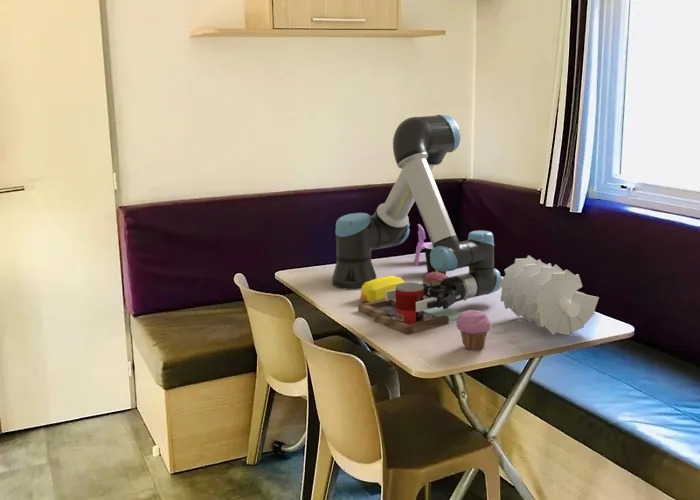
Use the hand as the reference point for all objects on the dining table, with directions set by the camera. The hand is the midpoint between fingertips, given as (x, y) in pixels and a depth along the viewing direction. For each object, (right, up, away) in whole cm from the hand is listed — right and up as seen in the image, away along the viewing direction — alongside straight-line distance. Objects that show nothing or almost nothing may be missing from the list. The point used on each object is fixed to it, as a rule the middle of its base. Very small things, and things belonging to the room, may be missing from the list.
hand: (401, 301), depth 219 cm
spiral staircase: (+40, -7, -1) cm, 41 cm away
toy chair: (+14, +9, +71) cm, 73 cm away
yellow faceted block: (-4, -1, +28) cm, 29 cm away
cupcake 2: (+17, -11, -18) cm, 27 cm away
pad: (+13, -4, +10) cm, 18 cm away
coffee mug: (+15, +5, +54) cm, 57 cm away
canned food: (+3, -7, +3) cm, 8 cm away
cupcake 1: (+13, 0, +32) cm, 34 cm away
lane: (0, -5, +8) cm, 10 cm away
